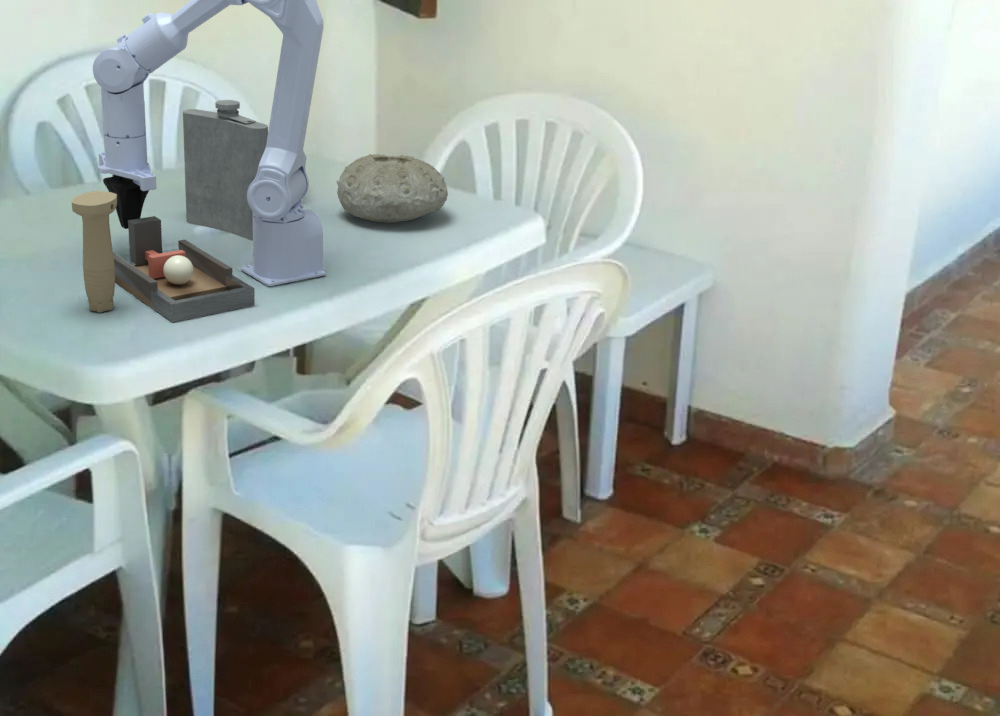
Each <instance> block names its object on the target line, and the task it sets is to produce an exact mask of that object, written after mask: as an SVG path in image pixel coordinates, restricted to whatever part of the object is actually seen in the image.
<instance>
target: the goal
mask: <svg viewBox="0 0 1000 716" xmlns="http://www.w3.org/2000/svg"><path fill="white" fill-rule="evenodd" d="M255 292H256V291H255V287H254V286H252V285H250V284H248V283H247V282H245V281H244V280H241V279H240V278H238V277H237V276H235V275H234V274H233V275H229V276H226V291H222V292H217V293H212V294H207V295H202V296H197V297H191V298H186V299H181V300H176V301H175V300H173V299H172V298H170V297H169V296H167V295H166V294H164V293H163V292H162V291H160V290H159V289H155V290H151V307H150V309H152V310H154V311H155V312H156V313H158V314H159V315H160V316H161V317H164V318H165V319H166V320H168V321H170V323H173V324H174V323H177V322H182V321H186V320H191V319H197V318H201V317H207V316H211V315H217V314H220V313H226V312H231V311H236V310H240V309H245V308H249V307H250V308H251V307H255V305H256V303H255V300H256V298H255Z"/></svg>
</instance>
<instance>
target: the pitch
mask: <svg viewBox="0 0 1000 716" xmlns="http://www.w3.org/2000/svg"><path fill="white" fill-rule="evenodd" d="M177 242H178V250H183V251H184V252H186V258H188V259H189V260H190V261H191V263H192V265H193V269H194V272H193V276H192V278H191V279H190V280H189V281H188V282H187V283H185V284H182V285H175V284H172V283H170V282H169V281H168V280H167V279H166V277H160V278H155V279H152V278H151V277H149V270H148V263H146V264H140V265H135V264H132V263H130V262H129V261H127V260H125V259H124V258H122V257H121V256H120V255H118V254H116V253H115V252H113V258H114V268H115V284H117V285H118V286H120V287H121V288H122V289H124V291H126V292H128V293H129V294H131V295H133V297H135V298H137V299H138V300H139V301H141V302H142V303H144V304H145V305H146V306H148V307H149V308H151V290H155V289H159V290H160V291H162V292H163V293H164V294H166V295H167V296H169V297H170V298H172V299H173V300H175V301H176V300H181V299H186V298H191V297H197V296H202V295H207V294H212V293H217V292H222V291H226V276H229V275H234V274H233V267H232V266H230V265H228V264H226V263H224V262H223V261H221V260H220V259H218V258H216V257H214V256H213V255H212V254H210V253H208V252H207V251H205V250H203V249H201V248H200V247H198V246H196V245H195V244H193V243H191V242H190V241H188V240H186V239H180V240H178V241H177Z"/></svg>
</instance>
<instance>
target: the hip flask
mask: <svg viewBox="0 0 1000 716" xmlns="http://www.w3.org/2000/svg"><path fill="white" fill-rule="evenodd" d="M214 102H215V103H214V104H215V109H217V110H216V111H212V110H211V111H209V110H204V109H198V108H197V109H195V108H192V109H191V108H189V109H188V108H187V109H184V110H182V127H183V130H182V131H183V152H184V153H183V157H184V161H183V162H184V179H185V180H184V183H185V184H184V185H185V214H186V215H185V216H186V222H187V224H191V225H197V226H202V227H207V228H211V229H215V230H218V231H222V232H226V233H229V234H233V235H236V236H238V237H242V238H245V239H246V240H249V241H252V242H253V212H252V210H251V208H250V206H249V204H248V201H247V191H248V188H249V186H250V184H251V183H252V181H253V180H254V179H255V177H256V175H257V171H258V165H259V163H260V160H261V158H262V156H263V153H264V151H265V148H266V143H267V137H268V130H269V126H268V125H267V124H265V123H263V122H258V121H257V120H254V119H251V118H249V117H245V116H242V115H241V114H240V115H239V113H240V111H239V109H240V107H241V106H240V105H241V103H240V101H238V100H236V99H235V100H233V99H221V100H216V101H214Z"/></svg>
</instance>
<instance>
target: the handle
mask: <svg viewBox="0 0 1000 716" xmlns="http://www.w3.org/2000/svg"><path fill="white" fill-rule="evenodd" d="M116 206H117V194H115V193H111V192H109V191H105V190H102V191H101V190H94V191H89V192H85V193H81V194H78V195H76V196H74V197H73V198H72V200H71V211H72V212H73V213H75V214H76V215H78V216H81V218H82V219H81V221H82V271H83V281H84V290H85V295H86V297H87V301H88V302H87V303H88V307H89V310H90V311H91V312H98V313H103V312H108V311H112V310H113V309H114V302H115V301H114V296H115V291H116V289H115V288H116V283H115V268H114V258H113V253H114V251H113V244H112V235H111V227H110V226H111V225H110V215H111V214H112V213H114V211H116Z"/></svg>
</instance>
